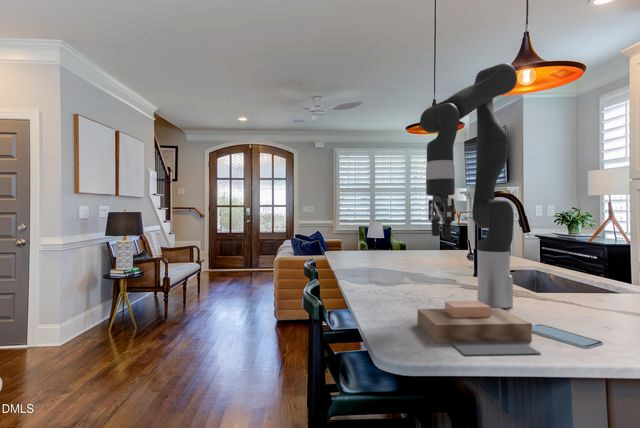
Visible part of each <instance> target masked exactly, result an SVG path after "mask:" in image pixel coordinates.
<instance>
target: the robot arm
mask: <svg viewBox="0 0 640 428" xmlns="http://www.w3.org/2000/svg"><path fill="white" fill-rule="evenodd" d="M516 70H517V69H515V67H514V66H513V65H512V64H510V63H507V62H505V63H499V64H496V65H493V66H490V67H487V68H485V69H482V70H480V71H478V72H477V74H476V76H475V80H474V84H471V85H470V86H467V87H465V88H463V89H461V90H459V91H458V92H456V93H454V94H453V95H451V96H449V97H448V98H447V99H445V100H443V101H440V102H438V103H436V104H434V105H432V106H429V107H428V108H426V109H425V110H424V111H422V113H421V115H420V118H419V119H420V120H419V124H420V127H421V129H422V130H423V131H424V132H426V133H429V134H434V133H435V134H436V133H437V135H436V136H435V138H434V139H432V140H431V141H429V142H428V143H427V145H426V166H425V167H426V168H425V184H426V185H425V190H426V191H425V194H426V196H431V197H432V199H428V203H427V205H428V206H427V207H428V209H427V210H428V214H427V219H428V221H429V222H430V223H431V237H432V236H433V237H439V236H440V235H441V237H442V238H444V239H451V238H452V227H451V226H452V224H453V222H455V221H456V220H455V219H456V216H455V215H456V214H455V213H456V212H455V199H454V198H450V197H449V196H454V195H455V192H456V191H455V189H456V185H455V184H456V183H455V182H456V181H455V180H456V179H455V176H456V175H455V174H456V173H455V165H454V146H455V140H456V138H457V133H458V130H459V126H460V121H461V119H463V118H465V117H466V116H468V115H469V114H471V113H472V112H473V111H475V110H476V143H475V144H476V148H475V150H476V151H475V154H476V155H475V158H476V159H475V160H476V161H475V163H476V165H475V184H474V193H473V202H472V209H471V210H472V211H471V212H472V213H471V214H472V220H473V222H474V225H476V227H478V228H480V229H488V232H487V235H486V237H484V238H482V239H481V240H479V241H478V242H477V301H480V302H482V303H484V304H486V305H488V306H490V307H491V308H501V309H509V308H513V307H514V300H513V299H514V295H513V294H514V277H513V276H512V275H511V251H510V250H511V245H512V242H513V237H514V221H515V219H514V218H515V216H514V209H513V206H512V204H511V203H510V201H508V200H506V199H502V198H501V199H500V198H499V199H495V189H496V185H497V182H498V179H499V178H500V175H501V174H502V172H503V169H504V167H505V165H506V163H507V161H508V157H509V136H508V134H507V131H506V130H505V128H504V126H503V124H502V123H501V122H500V121H499V119H498V118H497V116H496V114H495V111H494V98H496V97H499V96H503V95H506V94H509V93H510V92H511V91H513V89H515V87H516V86H517V82H518V75H517V74H518V73H517V71H516ZM440 222H441V223H440Z"/></svg>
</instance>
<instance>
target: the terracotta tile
mask: <svg viewBox="0 0 640 428" xmlns="http://www.w3.org/2000/svg"><path fill="white" fill-rule="evenodd" d="M444 309H445V311H446V312H447V313H449V314H450V315H452V316H453V317H491V307H490V306H488V305H486V304H484V303H482V302H480V301H478V300H469V301H468V300H464V301H463V300H461V301H459V300H456V301H454V300H453V301H447V300H446V301H444Z"/></svg>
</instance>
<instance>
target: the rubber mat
mask: <svg viewBox="0 0 640 428" xmlns="http://www.w3.org/2000/svg"><path fill="white" fill-rule="evenodd" d="M449 344H450V345H452V346H453V347H454V348H455V349H456V350H457V351H458V352H459V353H461V354H462V356H464V357H470V356H471V357H472V356H473V357H474V356H475V357H477V356H479V357H480V356H481V357H482V356H524V355H525V356H531V354H541V355H542V353H541V351H538V350H536V349H534V347H532V346H530V345H528V344H526V343H525V342H524V341H478V342H450V343H449Z"/></svg>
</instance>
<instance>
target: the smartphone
mask: <svg viewBox="0 0 640 428" xmlns="http://www.w3.org/2000/svg"><path fill="white" fill-rule="evenodd" d="M534 333H535V334H534ZM532 334H534V335H537V334H538V336H541V337H545V338H548V339H551V340H555V341H557V340H558V341H557V342H560V343H564V344H567V343H568V345H571V346H574V347H578V348H581V349H586V348H588V349H592V348H595V347H599V346H603V345H604V342H603V341H601V340H598V339H594V338H590V337H587V336H583V335H580V334H577V333H574V332H570V331H567V330H563V329H560V328H555V327H554V326H553V327H552V326H550V325H545V324H540V323H538V324H534V325H533V324H532Z"/></svg>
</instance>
